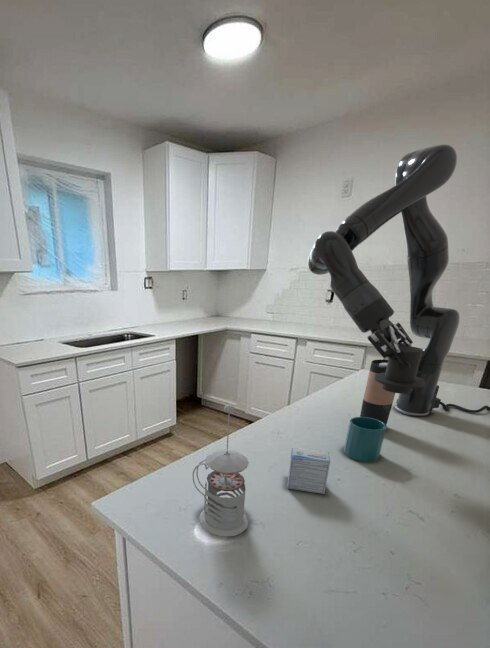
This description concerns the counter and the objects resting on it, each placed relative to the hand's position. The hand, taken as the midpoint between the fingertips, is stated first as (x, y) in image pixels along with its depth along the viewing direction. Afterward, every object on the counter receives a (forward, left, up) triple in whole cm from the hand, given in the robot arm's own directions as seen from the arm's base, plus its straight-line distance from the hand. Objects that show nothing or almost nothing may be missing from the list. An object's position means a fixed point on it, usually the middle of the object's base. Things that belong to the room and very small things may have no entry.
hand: (411, 366), depth 81 cm
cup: (+4, -5, -25) cm, 26 cm away
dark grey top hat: (+1, -1, -6) cm, 6 cm away
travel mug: (-9, -20, -25) cm, 34 cm away
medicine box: (+25, +7, -25) cm, 36 cm away
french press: (+47, +15, -25) cm, 55 cm away
